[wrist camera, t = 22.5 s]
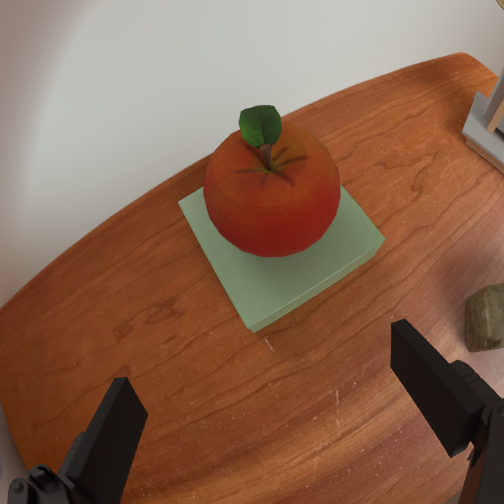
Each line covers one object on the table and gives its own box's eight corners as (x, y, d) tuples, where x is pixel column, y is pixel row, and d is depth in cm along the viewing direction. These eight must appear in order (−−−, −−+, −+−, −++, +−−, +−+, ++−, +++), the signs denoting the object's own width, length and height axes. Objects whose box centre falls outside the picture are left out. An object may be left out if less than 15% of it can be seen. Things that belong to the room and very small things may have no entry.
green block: (254, 333, 25) (247, 328, 21) (191, 221, 30) (177, 201, 26) (374, 255, 26) (385, 239, 22) (297, 161, 31) (296, 136, 27)
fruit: (223, 283, 23) (174, 227, 13) (216, 181, 26) (181, 99, 17) (346, 264, 22) (378, 195, 13) (320, 164, 25) (325, 75, 16)
